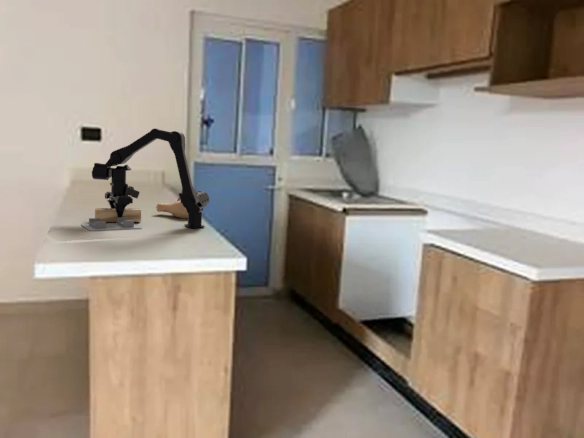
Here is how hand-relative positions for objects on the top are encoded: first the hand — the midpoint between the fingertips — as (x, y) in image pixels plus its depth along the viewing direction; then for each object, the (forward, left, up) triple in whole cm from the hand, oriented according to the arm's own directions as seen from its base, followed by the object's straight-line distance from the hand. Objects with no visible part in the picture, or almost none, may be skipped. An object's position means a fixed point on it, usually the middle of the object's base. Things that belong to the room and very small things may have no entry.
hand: (118, 218), depth 229 cm
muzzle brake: (+20, -43, -2) cm, 47 cm away
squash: (+6, -29, -2) cm, 30 cm away
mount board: (-11, +6, -2) cm, 13 cm away
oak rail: (0, 0, -1) cm, 1 cm away
